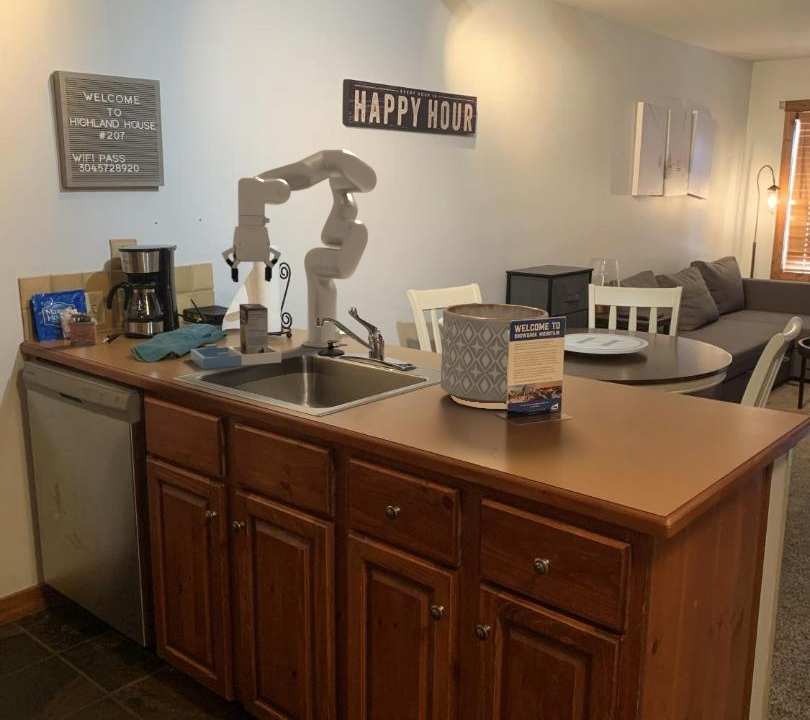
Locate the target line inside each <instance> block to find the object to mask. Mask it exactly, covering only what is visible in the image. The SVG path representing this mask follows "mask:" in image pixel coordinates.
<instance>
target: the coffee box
mask: <svg viewBox="0 0 810 720" xmlns="http://www.w3.org/2000/svg"><path fill="white" fill-rule="evenodd" d="M268 312H269V311H268V307H265V306H264V305H262V304H260V303H240V304H239V340H240V341H239V343H240V345H239V346H240V349H241V353H242V354H244V355H245V354H257V353H268V343H269V341H268V340H269V330H268V329H269V319H268V317H269V314H268Z"/></svg>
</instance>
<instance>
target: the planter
mask: <svg viewBox="0 0 810 720" xmlns="http://www.w3.org/2000/svg"><path fill="white" fill-rule="evenodd" d="M442 312H443V313H442V314H443V315H442V335H441V336H442V337H441V339H442V340H441V341H442V343H441V344H442V345H441V366H440V368H441V369H440V388H441V389H442V390H443V391H444V392H446V393H448V394H450V396H451V395H452V396H454V397H456V398H458V399H461V400H465V401H470V402H479V403H504V404H506V401H507V358H508V330H509V322H510V321H512V320H522V319H535V318H548V319H549V313H548V311H546V310H543V309H541V308H537V307H531V306H527V305H525V306H524V305H516V304H506V303H463V304H462V303H461V304H460V303H459V304H451V305H448V306H446V307H444V308H443V311H442Z"/></svg>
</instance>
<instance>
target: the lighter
mask: <svg viewBox="0 0 810 720" xmlns="http://www.w3.org/2000/svg"><path fill="white" fill-rule="evenodd" d="M70 318H71V319H74V320H69V321H68V325H69V336H70V337H69V339H70V341H69V345H70V346H71V345H75V347H76V346H77V347H92V346H93V347H95V346H97V345H98V343H97V336H96V320H92V314H86V313H85V312H83V313H81V314H79V313H70ZM94 345H95V346H94Z"/></svg>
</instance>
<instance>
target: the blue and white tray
mask: <svg viewBox="0 0 810 720" xmlns="http://www.w3.org/2000/svg"><path fill="white" fill-rule="evenodd" d="M190 360H191V361H192V362H194V363H195V364H196V365H197V366H199V367H200V368H201V369H203V370H208V369H218V368H220V369H221V368H229V367H230V368H233V367H243V366H253V365H254V366H255V365H265V364H266V365H267V364H277V363H278V364H279V363H282V352H281V351H280V350H278V349H276V348H274V347H273V346H270V345H268V353H257V354H245V355H244V354H242V353H241V349H240V345H230V346H219V347H218V344H217V343H214V344H211V343H210V344H205V347H203V348H191V349H190Z"/></svg>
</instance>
